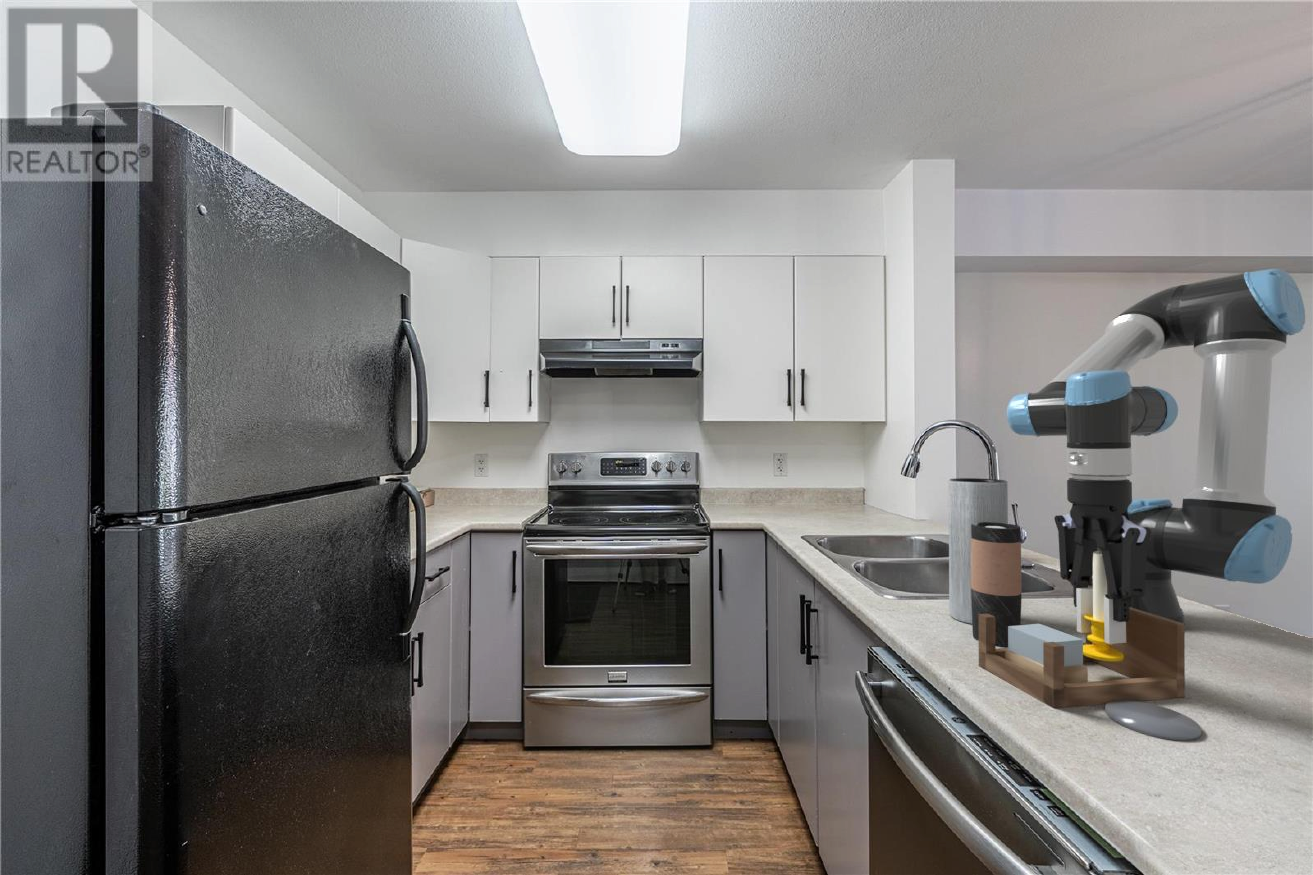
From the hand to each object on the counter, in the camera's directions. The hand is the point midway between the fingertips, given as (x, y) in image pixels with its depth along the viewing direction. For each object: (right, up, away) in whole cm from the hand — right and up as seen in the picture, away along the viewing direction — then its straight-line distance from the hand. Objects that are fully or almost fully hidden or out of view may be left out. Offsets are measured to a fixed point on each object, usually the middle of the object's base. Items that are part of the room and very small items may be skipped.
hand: (1100, 636), depth 84 cm
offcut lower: (-9, -7, -1) cm, 11 cm away
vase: (-2, -6, +28) cm, 29 cm away
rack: (-4, -6, -1) cm, 8 cm away
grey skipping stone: (-4, -6, -13) cm, 15 cm away
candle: (0, -3, 0) cm, 3 cm away
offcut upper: (-9, -3, -1) cm, 10 cm away
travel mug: (-6, -6, +16) cm, 18 cm away
